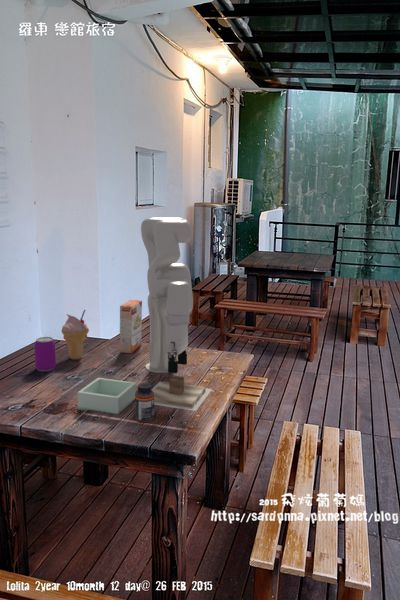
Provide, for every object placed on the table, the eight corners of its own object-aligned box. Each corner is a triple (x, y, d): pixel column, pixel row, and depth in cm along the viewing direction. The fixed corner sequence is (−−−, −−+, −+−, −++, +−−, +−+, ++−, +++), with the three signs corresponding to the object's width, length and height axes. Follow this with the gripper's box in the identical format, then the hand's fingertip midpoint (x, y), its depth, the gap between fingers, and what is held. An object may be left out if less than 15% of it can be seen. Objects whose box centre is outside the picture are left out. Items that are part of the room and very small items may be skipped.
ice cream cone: (75, 352, 226) (74, 306, 221) (94, 356, 220) (94, 310, 216) (56, 358, 216) (55, 311, 212) (76, 363, 211) (75, 315, 207)
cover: (162, 384, 190) (163, 368, 189) (205, 390, 185) (205, 373, 184) (146, 400, 175) (146, 383, 174) (191, 407, 170) (192, 389, 169)
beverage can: (52, 372, 201) (51, 342, 198) (32, 371, 201) (31, 341, 198) (58, 365, 208) (57, 336, 206) (39, 365, 208) (38, 336, 206)
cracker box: (132, 354, 225) (132, 306, 221) (119, 352, 227) (118, 305, 222) (142, 345, 239) (142, 300, 234) (129, 343, 240) (129, 299, 236)
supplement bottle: (135, 415, 165) (135, 381, 162) (154, 415, 165) (154, 381, 163) (134, 424, 159) (134, 388, 156) (154, 423, 159) (154, 388, 157)
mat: (159, 383, 192) (159, 381, 192) (212, 390, 187) (212, 389, 187) (138, 403, 174) (138, 402, 173) (195, 412, 168) (195, 410, 168)
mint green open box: (98, 394, 181) (98, 377, 180) (136, 399, 177) (136, 382, 176) (78, 409, 168) (77, 392, 166) (118, 416, 164) (118, 398, 163)
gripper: (176, 313, 184) (175, 360, 187) (158, 323, 167) (158, 374, 170) (196, 314, 181) (195, 362, 184) (180, 325, 165) (179, 377, 168)
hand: (177, 368), depth 177 cm, fingers open, 9 cm apart
